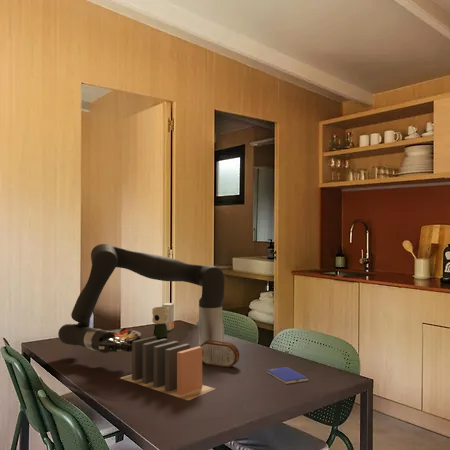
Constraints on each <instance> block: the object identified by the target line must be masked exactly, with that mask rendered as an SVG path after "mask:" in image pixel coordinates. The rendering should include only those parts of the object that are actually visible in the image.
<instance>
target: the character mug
mask: <svg viewBox="0 0 450 450" xmlns="http://www.w3.org/2000/svg"><path fill="white" fill-rule="evenodd" d="M151 314H152V324H154V326H153V336H155V337H157V339H164V338H165V337H166V338H167V337H168V330H167V326H166V324H165V323H167V322H168V321H169V308H168V307H162V306H154V307H152V313H151Z"/></svg>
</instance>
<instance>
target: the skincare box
mask: <svg viewBox="0 0 450 450" xmlns="http://www.w3.org/2000/svg"><path fill="white" fill-rule="evenodd" d="M161 307H168V308H169V321H168V322H167V323H165V324H166V326H167V331H171V330H173V329H174V327H175V303H173V302H165V303H163V304H162V305H161Z"/></svg>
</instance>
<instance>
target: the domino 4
mask: <svg viewBox="0 0 450 450" xmlns="http://www.w3.org/2000/svg"><path fill="white" fill-rule="evenodd" d="M190 348H191V344H190V343H183V344H180V345H179V346H176V347H172V348H168V349H165V390H166V391H171V390H174V389H177V352H180V351H184V350H187V349H190Z"/></svg>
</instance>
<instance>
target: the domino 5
mask: <svg viewBox="0 0 450 450" xmlns="http://www.w3.org/2000/svg"><path fill="white" fill-rule="evenodd" d="M202 385H203V361H202V347H200V346H199V345H198V346H195V347H190V349H187V350H184V351H180V352H177V394H178V395H183V394H186V393H188V392H191V391H194V390H196V389H199V388H201V387H202Z"/></svg>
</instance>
